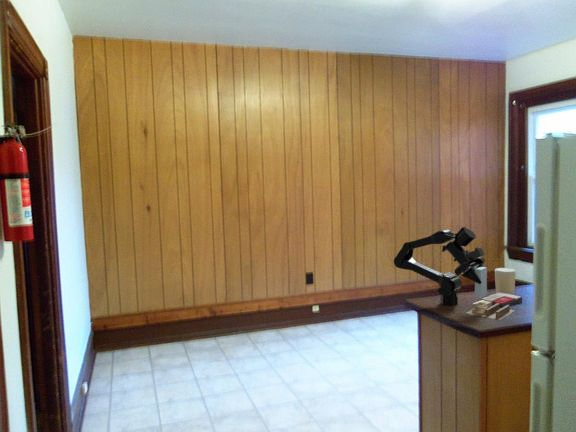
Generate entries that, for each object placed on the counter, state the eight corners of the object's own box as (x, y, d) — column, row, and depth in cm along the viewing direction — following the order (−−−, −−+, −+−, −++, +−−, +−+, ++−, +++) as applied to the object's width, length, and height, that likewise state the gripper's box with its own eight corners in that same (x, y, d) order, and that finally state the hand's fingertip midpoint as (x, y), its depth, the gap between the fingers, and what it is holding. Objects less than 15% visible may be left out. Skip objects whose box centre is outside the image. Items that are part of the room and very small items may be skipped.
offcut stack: (471, 311, 192) (471, 303, 192) (480, 306, 198) (480, 299, 198) (484, 314, 188) (484, 306, 188) (493, 309, 195) (493, 301, 194)
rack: (465, 315, 191) (465, 307, 190) (481, 307, 202) (481, 299, 201) (499, 322, 181) (499, 314, 180) (515, 313, 192) (515, 304, 191)
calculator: (479, 298, 204) (499, 290, 212) (479, 307, 205) (499, 299, 213) (502, 303, 195) (522, 295, 203) (502, 313, 195) (522, 305, 203)
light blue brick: (474, 297, 192) (474, 269, 191) (480, 294, 196) (481, 266, 195) (480, 298, 190) (480, 269, 189) (486, 295, 195) (486, 267, 194)
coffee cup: (507, 291, 226) (508, 267, 225) (520, 296, 217) (520, 271, 216) (490, 292, 225) (490, 268, 224) (501, 297, 215) (502, 272, 214)
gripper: (461, 244, 188) (488, 274, 181) (481, 238, 201) (507, 266, 194) (443, 261, 194) (469, 290, 187) (463, 254, 207) (488, 282, 200)
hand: (484, 281), depth 192 cm, fingers closed on light blue brick, 6 cm apart
